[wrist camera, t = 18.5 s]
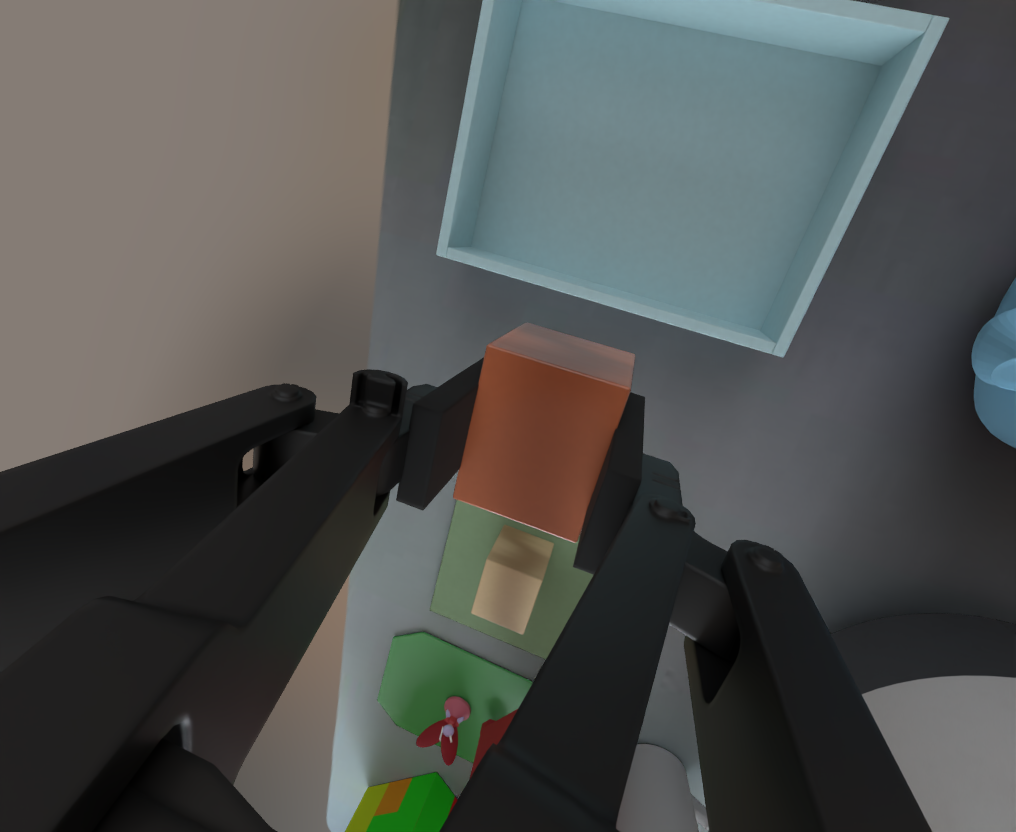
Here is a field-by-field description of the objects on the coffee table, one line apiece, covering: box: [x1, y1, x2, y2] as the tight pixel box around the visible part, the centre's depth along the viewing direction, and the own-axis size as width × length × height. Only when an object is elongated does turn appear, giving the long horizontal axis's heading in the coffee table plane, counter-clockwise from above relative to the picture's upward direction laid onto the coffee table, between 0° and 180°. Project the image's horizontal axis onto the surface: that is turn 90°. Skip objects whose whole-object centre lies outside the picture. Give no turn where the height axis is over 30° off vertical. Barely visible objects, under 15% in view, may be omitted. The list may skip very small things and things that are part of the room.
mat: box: [430, 500, 593, 659], centre depth 39 cm, size 12×12×1 cm
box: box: [436, 0, 949, 357], centre depth 25 cm, size 19×14×4 cm
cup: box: [616, 744, 709, 832], centre depth 37 cm, size 8×10×8 cm
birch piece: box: [471, 525, 554, 635], centre depth 35 cm, size 4×5×4 cm
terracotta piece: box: [453, 322, 635, 543], centre depth 16 cm, size 4×5×4 cm
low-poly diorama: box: [377, 632, 533, 778], centre depth 40 cm, size 15×20×9 cm
